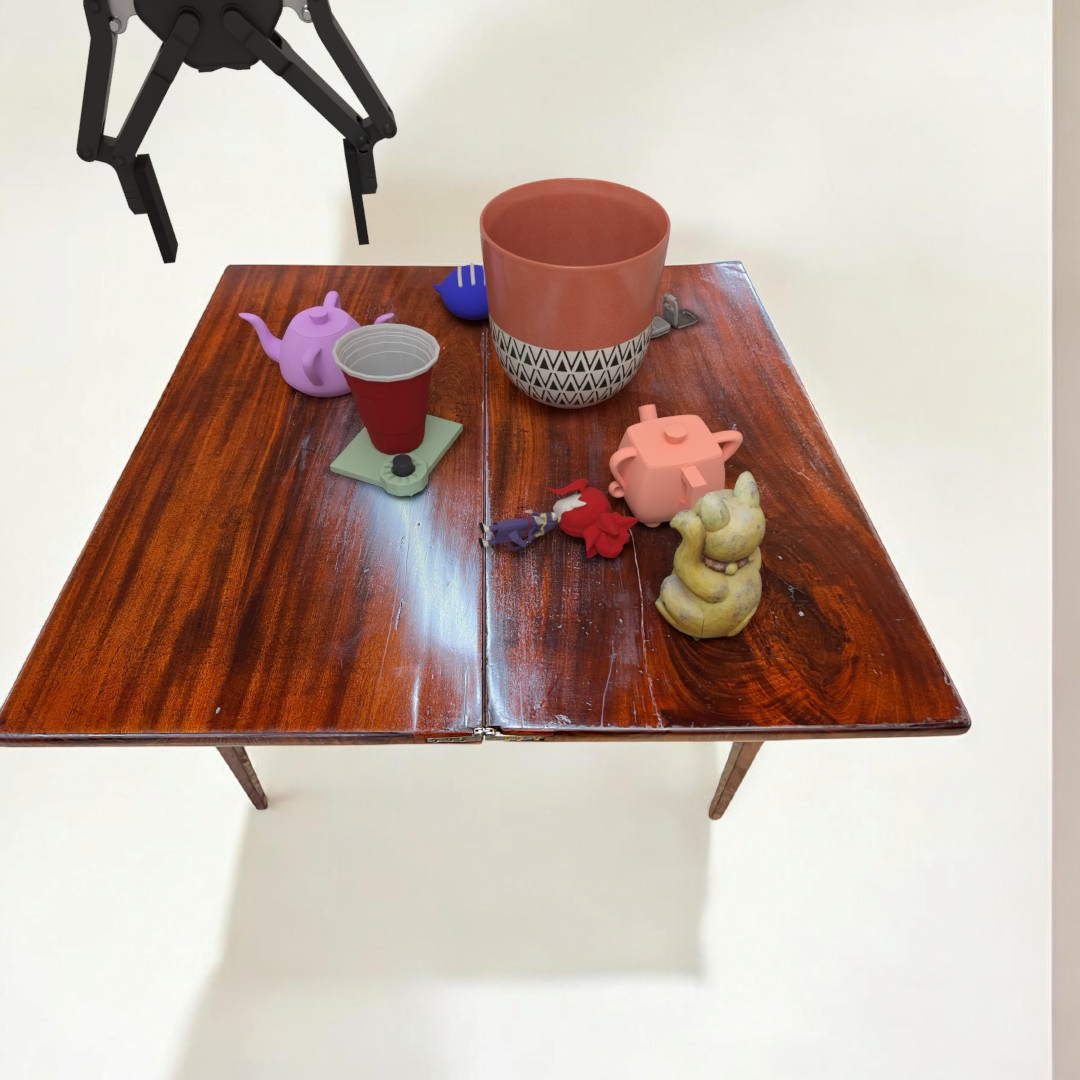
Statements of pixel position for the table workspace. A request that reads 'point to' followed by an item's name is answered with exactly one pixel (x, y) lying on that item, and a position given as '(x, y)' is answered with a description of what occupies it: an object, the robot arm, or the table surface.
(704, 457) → the teapot
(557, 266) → the planter
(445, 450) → the scale
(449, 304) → the decorative object
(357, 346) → the plastic cup
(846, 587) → the table surface
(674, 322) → the strap clip
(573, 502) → the figurine
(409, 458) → the tare button
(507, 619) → the table surface
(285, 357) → the teapot
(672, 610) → the decorative figurine
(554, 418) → the table surface
